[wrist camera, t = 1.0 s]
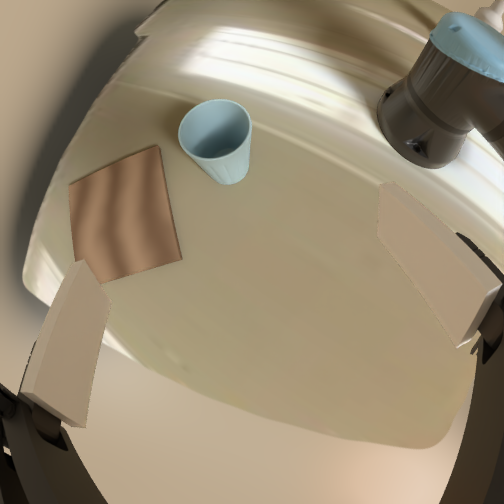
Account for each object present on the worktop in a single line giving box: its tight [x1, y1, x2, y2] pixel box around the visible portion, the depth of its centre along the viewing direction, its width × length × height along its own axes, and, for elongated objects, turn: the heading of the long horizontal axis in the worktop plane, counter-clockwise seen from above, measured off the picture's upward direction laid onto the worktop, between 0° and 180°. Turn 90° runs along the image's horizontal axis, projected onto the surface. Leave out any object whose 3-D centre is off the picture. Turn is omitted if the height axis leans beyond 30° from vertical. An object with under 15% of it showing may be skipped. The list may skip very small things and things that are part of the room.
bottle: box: [474, 0, 504, 32], centre depth 22 cm, size 7×7×28 cm
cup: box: [178, 99, 252, 185], centre depth 31 cm, size 8×8×10 cm
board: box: [69, 145, 182, 284], centre depth 36 cm, size 17×17×1 cm
